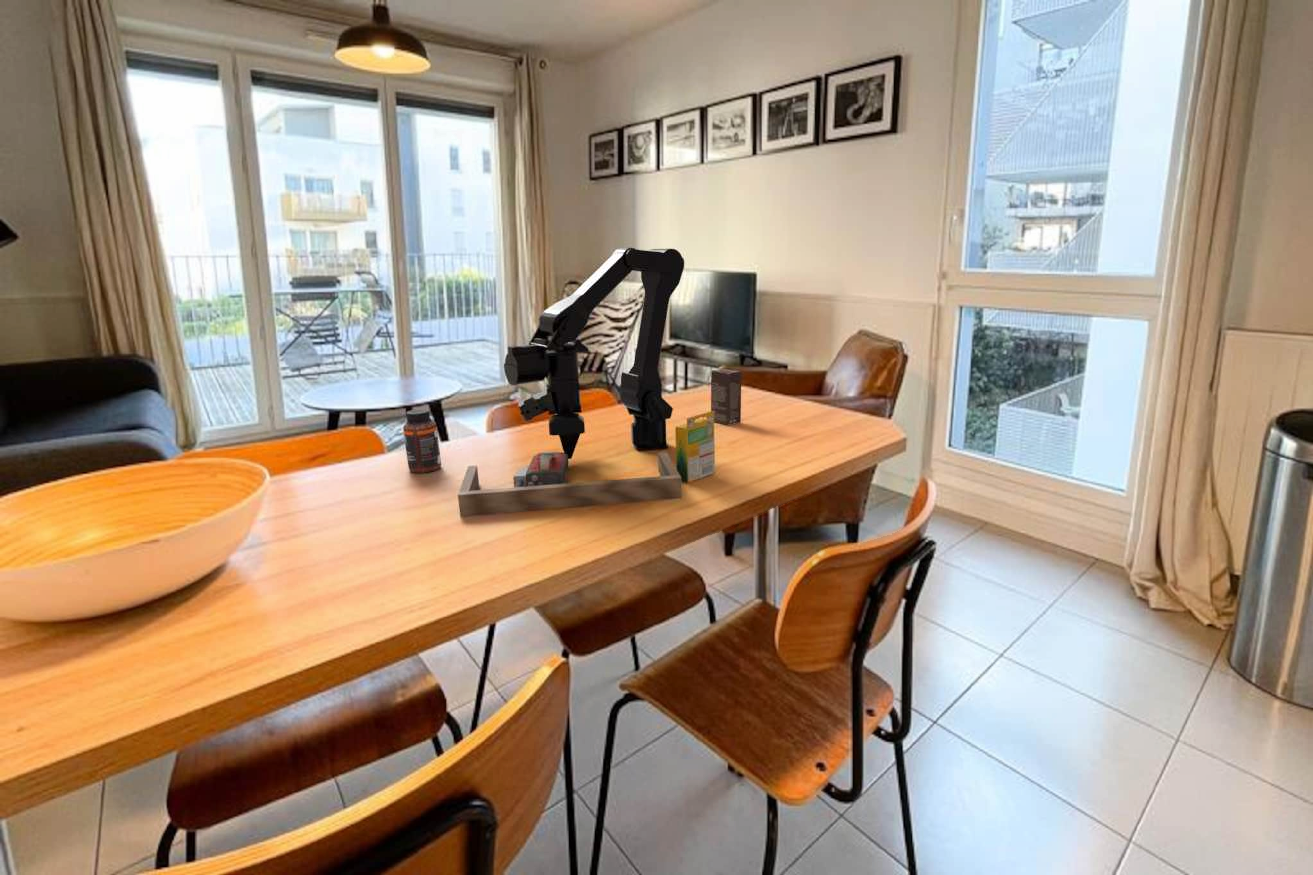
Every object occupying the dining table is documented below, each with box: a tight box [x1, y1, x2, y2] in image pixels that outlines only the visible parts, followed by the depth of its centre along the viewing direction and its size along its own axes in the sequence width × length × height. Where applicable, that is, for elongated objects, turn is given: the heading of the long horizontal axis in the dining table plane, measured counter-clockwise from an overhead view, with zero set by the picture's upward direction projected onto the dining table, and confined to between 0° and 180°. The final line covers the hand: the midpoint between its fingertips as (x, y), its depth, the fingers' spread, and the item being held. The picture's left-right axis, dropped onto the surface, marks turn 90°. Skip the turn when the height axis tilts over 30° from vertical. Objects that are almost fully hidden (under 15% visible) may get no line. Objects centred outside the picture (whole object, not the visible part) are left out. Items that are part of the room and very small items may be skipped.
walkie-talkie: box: [512, 451, 570, 488], centre depth 117 cm, size 9×4×20 cm
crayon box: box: [674, 410, 716, 484], centre depth 117 cm, size 7×3×12 cm, turn 134°
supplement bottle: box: [402, 408, 442, 474], centre depth 126 cm, size 6×6×11 cm
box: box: [710, 368, 742, 426], centre depth 154 cm, size 6×4×12 cm
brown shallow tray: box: [457, 451, 683, 517], centre depth 113 cm, size 35×14×4 cm, turn 99°
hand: (568, 458), depth 127 cm, fingers closed
